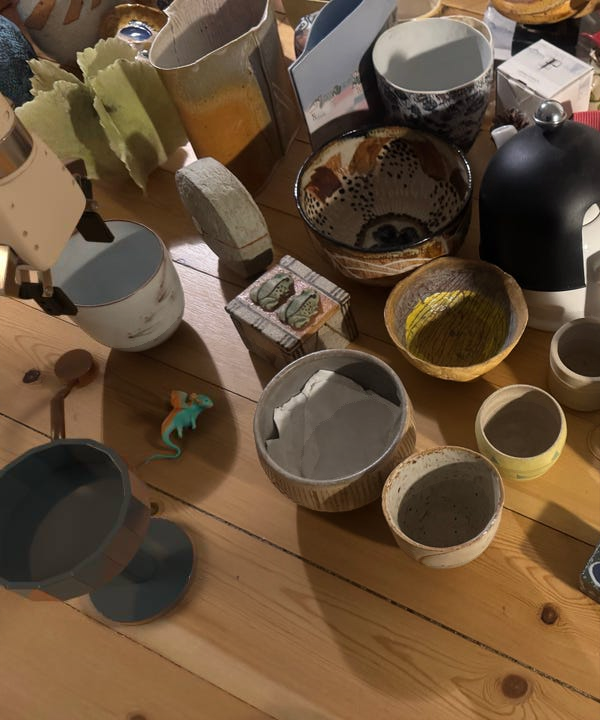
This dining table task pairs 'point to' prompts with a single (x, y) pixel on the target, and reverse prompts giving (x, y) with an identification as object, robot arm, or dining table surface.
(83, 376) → the ladle
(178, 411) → the dragon figurine
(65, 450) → the bowl
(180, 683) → the dining table surface
